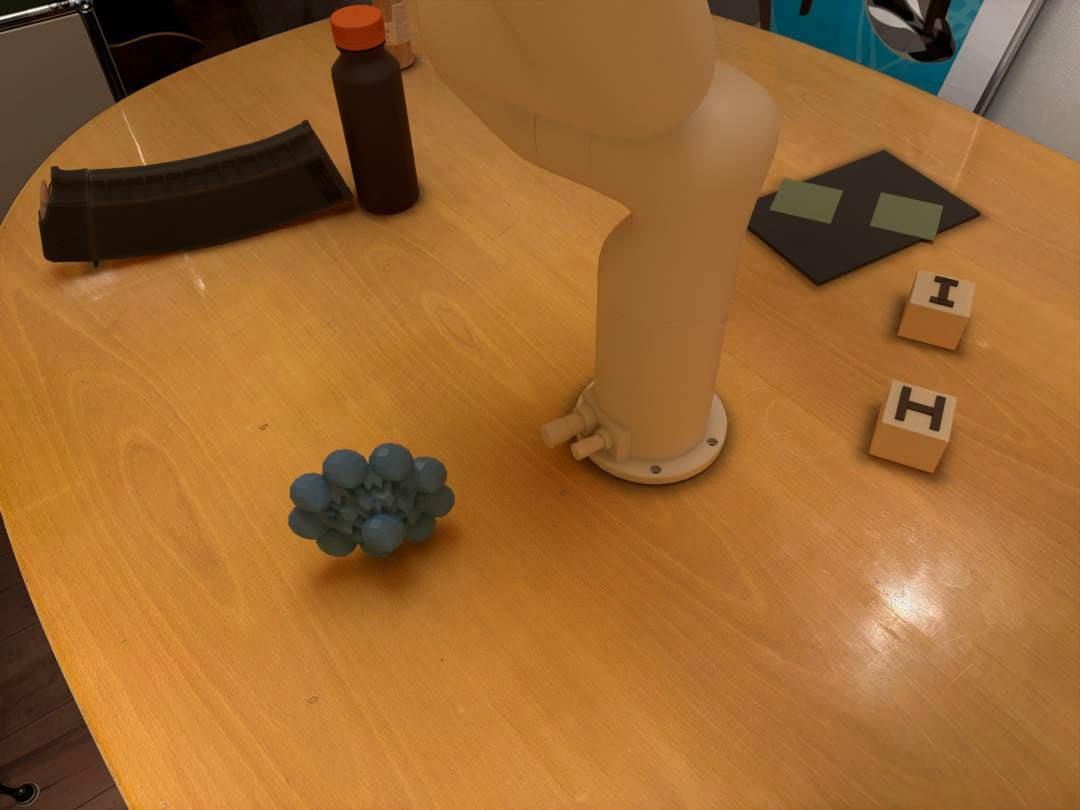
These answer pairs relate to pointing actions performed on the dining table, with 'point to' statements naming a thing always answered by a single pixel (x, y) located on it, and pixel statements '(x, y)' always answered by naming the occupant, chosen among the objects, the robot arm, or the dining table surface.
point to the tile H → (913, 426)
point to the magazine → (187, 199)
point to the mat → (854, 215)
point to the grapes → (370, 501)
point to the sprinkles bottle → (396, 29)
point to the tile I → (937, 309)
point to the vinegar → (373, 111)
